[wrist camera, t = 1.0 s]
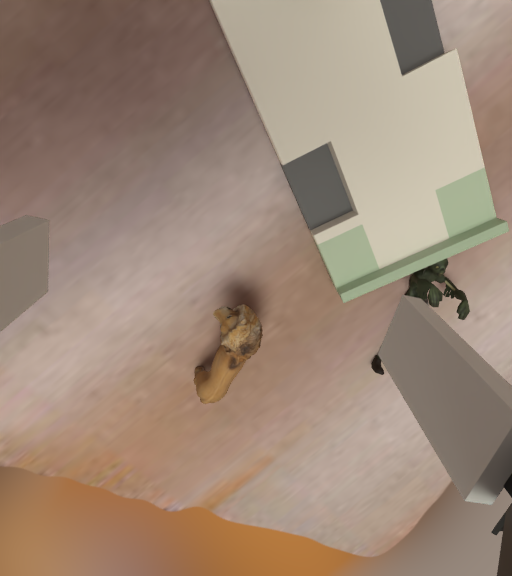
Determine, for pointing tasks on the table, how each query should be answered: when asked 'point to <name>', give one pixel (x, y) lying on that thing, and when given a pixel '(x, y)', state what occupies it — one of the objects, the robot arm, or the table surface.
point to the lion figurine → (229, 351)
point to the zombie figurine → (431, 294)
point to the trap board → (366, 131)
